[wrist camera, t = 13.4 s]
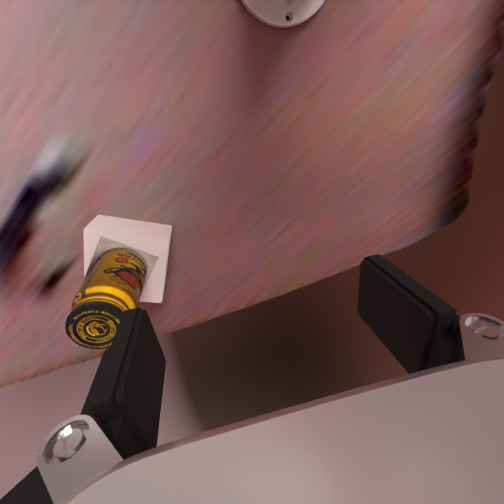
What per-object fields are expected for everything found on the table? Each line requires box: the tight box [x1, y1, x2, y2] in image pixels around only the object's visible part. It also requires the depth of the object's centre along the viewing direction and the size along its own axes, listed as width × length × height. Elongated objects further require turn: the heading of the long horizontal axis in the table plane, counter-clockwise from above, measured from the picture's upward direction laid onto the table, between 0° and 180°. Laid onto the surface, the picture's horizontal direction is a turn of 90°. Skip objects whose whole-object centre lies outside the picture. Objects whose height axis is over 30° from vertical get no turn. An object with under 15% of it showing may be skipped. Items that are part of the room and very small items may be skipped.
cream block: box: [84, 215, 172, 303], centre depth 38 cm, size 10×10×6 cm
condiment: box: [65, 236, 159, 349], centre depth 30 cm, size 7×8×12 cm
